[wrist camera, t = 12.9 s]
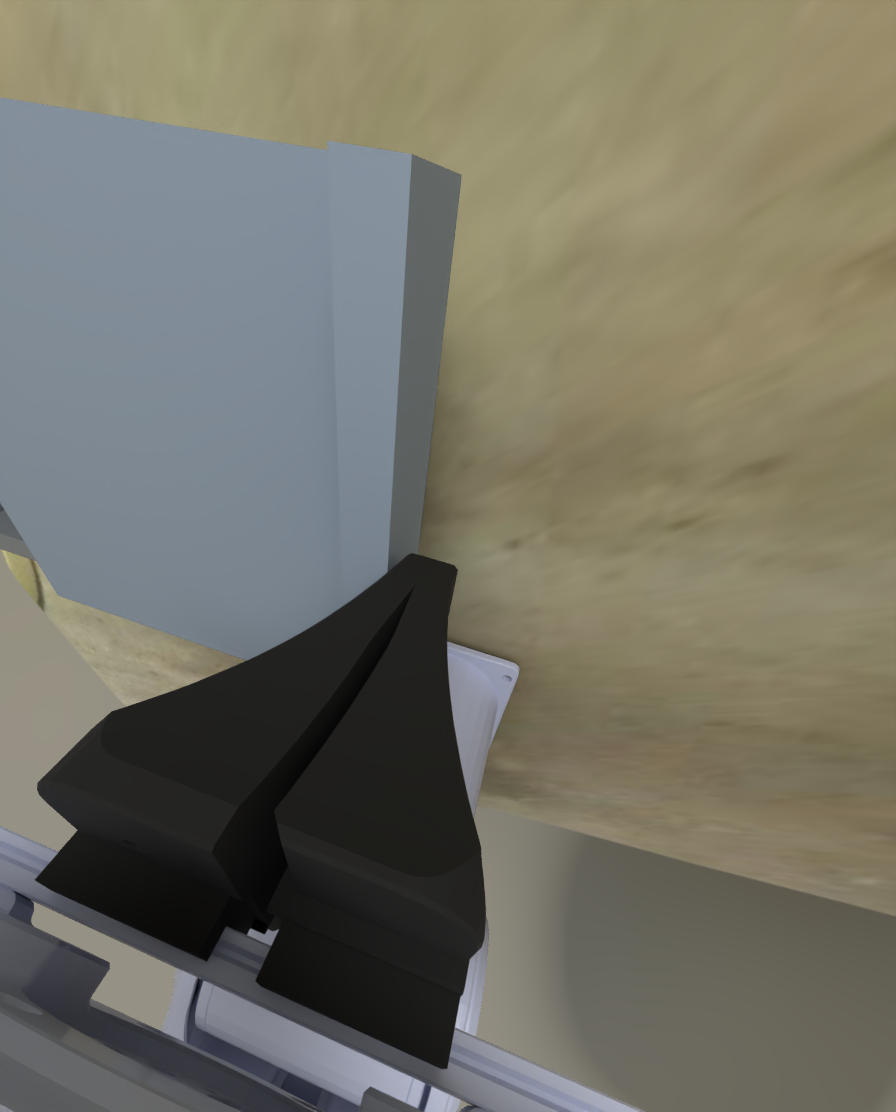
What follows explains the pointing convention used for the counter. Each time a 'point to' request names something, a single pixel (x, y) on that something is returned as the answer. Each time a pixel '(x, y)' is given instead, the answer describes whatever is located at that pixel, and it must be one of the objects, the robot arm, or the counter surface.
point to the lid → (216, 367)
